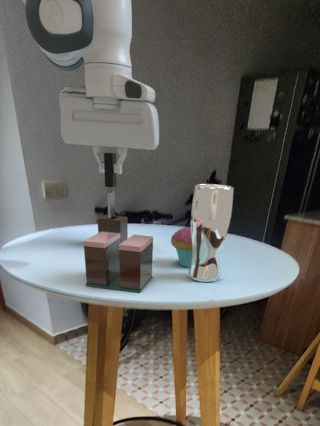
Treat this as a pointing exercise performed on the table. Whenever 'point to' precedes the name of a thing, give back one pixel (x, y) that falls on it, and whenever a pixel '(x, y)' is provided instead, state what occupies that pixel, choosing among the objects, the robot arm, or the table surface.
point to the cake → (118, 261)
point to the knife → (110, 182)
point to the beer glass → (209, 229)
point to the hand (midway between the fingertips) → (110, 173)
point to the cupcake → (183, 245)
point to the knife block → (114, 226)
